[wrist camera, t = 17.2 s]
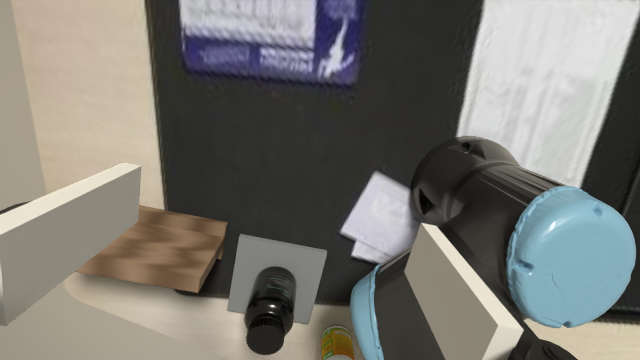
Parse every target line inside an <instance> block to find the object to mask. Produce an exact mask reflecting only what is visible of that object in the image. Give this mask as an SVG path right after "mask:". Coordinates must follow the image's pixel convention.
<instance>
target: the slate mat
mask: <svg viewBox="0 0 640 360" xmlns="http://www.w3.org/2000/svg"><path fill="white" fill-rule="evenodd" d="M326 256H327V250H322V249H317V248H312V247H306V246H301V245H296V244H291V243H285V242H280V241H275V240H270V239H264V238H259V237H254V236H249V235H243V234H240V236H239V241H238V247H237V254H236V260H235V266H234V272H233V278H232V284H231V290H230V296H229V302H228V308H227V310H229V311H235V312H240V313H245V311H246V308H247V305H248V301H249V298H250V295H251V291H252V288H253V285H254V282H255V279H256V277H257V275H258V274H259V273H260V272H261V271H262V270H263V269H265V268H268V267H271V266H279V267H283V268H285V269H287V270H289V271H290V272H291V273H292V274H293V275H294V277H295V279H296V284H297V288H296V301H295V312H294V321H293V322H299V323H305V324H309V321H310V317H311V313H312V310H313V306H314V302H315V298H316V294H317V290H318V286H319V283H320V279H321V275H322V271H323V267H324V263H325V260H326Z"/></svg>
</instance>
